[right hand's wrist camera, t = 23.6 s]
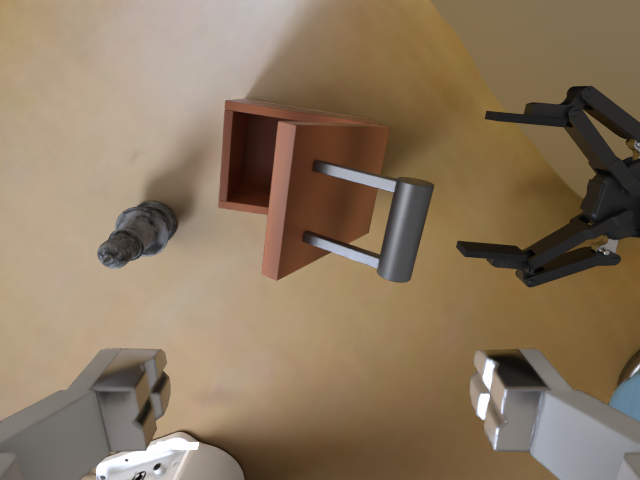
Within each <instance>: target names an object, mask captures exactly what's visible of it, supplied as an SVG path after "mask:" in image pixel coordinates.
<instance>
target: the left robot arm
mask: <svg viewBox="0 0 640 480" xmlns="http://www.w3.org/2000/svg"><path fill="white" fill-rule="evenodd" d="M582 109H583V110H584V111H586V112H587V113H588V114H590V115H591V116H592V117H594V118H595V119H596V120H598V121H599V122H600V123H602V124H603V125H604V126H606V127H607V128H608V129H610V130H611V131H612V132H614V133H615V134H616V135H618V136H619V137H621V138H624V139H627V141H626V145H628V147H629V148H630V149H631V150H632V151H633V156H632V157H629V158H626V159H624V160H623V161H622V160H621V159H619V158H618V157H616V156H615V154H614V153H613V152H612V150H611V149H610V147H609V146H608V145H607V143H606V142H605V140H604V139H603V138H602V136H601V135H600V134H599V132H598V131H597V129H596V128H595V127H594V125H593V124H592V123H591V121H590V120H589V118H588V117H587V116H586V114H585V113H584V111H583V110H582ZM485 119H488V120H494V121H503V122H514V123H524V124H535V125H546V126H557V127H564V128H565V130H566V131H567V132H568V134H569V135H570V136H571V138H572V139H573V140H574V142H575V143H576V144H577V146H578V147H579V148H580V150H581V151H582V152H583V154H584V155H585V156H586V158H587V159H588V160H589V165H590V166H591V168H592V169H593V170H594V172H595V173H596V174H597V175H596V176H594V178H593V179H592V180H591V179H590V180H589V183H588V186H587V194H586V196H585V198H584V199H583V201H582V204H581V207H580V208H581V209H582V211H583V213H581V214H579V215H577V216H576V217H574V218H572V219H571V220H570V223H569V224H567V225H565V226H564V227H562V228H560V229H559V230H557V231H555V232H553V233H552V234H550V235H548V236H547V237H545V238H543V239H541V240H540V241H538V242H536V243H535V244H533V245H531V246H529V247H528V248H526V249H524V250H523V251H522V250H521V249H519V248H518V247H517V246H512V245H500V244H488V243H477V242H465V241H458V242H457V246H456V248H457V249H458V250H459V251H460V252H461V253H462V254H463V256H464V257H474V258H486V259H487V261H488V262H489V263H490V264H491V265H492V266H494V267H499V268H511V269H517V271H516V276H517V277H518V278H519V279H520V280H521V281H522V282H523V283H524V284H525V285H526V286H528V287H534V286H537V285H540V284H543V283H546V282H549V281H553V280H556V279H559V278H562V277H565V276H568V275H571V274H574V273H577V272H580V271H583V270H586V269H589V268H592V267H595V266H606V265H617V264H618V263H619V262H620V260H621V257H620V256H619V255H617V254H615V252H616V248H617V244H618V240H620V239H623V238H626V237H638V238H640V122H638V121H637V120H636V119H634V118H633V117H632V116H630V115H629V114H628V113H627V112H625V111H624V110H623V109H621V108H620V107H619V106H617V105H616V104H615V103H613V102H612V101H611V100H610V99H608V98H607V97H606V96H604V95H603V94H602V93H601V92H599V91H598V90H597V89H595V88H594V87H592V86H575V87H571V88H570V89H569V90H568V92H567V97H566V99H565V100H564V102H562V103H561V104H558V105H557V104H547V103H533V102H532V103H529V104H526V107H525V111H524V114H513V113H502V112H492V111H486V116H485ZM588 223H591V224H592V225H589V224H588ZM601 235H603V236H604V237H603V239H602V240H601V241H600V242H596V243H591V244H590V247H583V248H579V249H576V250H573V251H570V252H567V251H568V250H570V249H572V248H574V247H575V246H577V245H579V244H581V243H582V242H584V241H586V240H589V239H595V238H597V237H599V236H601ZM565 252H567V253H565ZM563 253H564V254H563ZM609 406H611V407H613V408H615V409H617V410H619V411H621V412H623V413H624V414H626V415H628V416H630V417H632V418H634V419H636V420H638V421H640V351H639V352H638V353H636V354H635V355H634V356H633V357H632V358H631V359H630V361H629V362H628V363H627V365H626V366H625V367H624V369H623V371H622V373H621V375H620V378H619V381H618V387H617V389H616V390H615V392H614V393H613V395H612V397H611V399H610V402H609Z"/></svg>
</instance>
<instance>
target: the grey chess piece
mask: <svg viewBox="0 0 640 480" xmlns="http://www.w3.org/2000/svg"><path fill="white" fill-rule="evenodd" d="M175 231H176V220H175V217H174V215H173V213H172V212H171V210H170V209H168V208H167V207H166V206H165V205H163V204H161V203H158V202H152V201H148V202H144V203H142V204H140V205H138V206H137V207H133V208H129V209H127V210H125V211H123V212H122V213H121V214H120V215H119V217H118V219H117V221H116V226H115V231H113V232H112V233H111V234H110V236H109V240H107V241H106V242H104V243H103V244H102V245H101V246H100V247H99V249H98V253H97V254H98V258H99V260H100V262H101V263H102V264H103V265H104V266H106V267H108V268H112V269H117V268H121V267H123V266H125V265H126V264H127V263H128V262H129V261H132V260H136V259H138V258H139V257H140V256H144V257H149V256H153V255H156V254H158V253H160V252H161V251H162V250H163V249H164V248H165V246H166V244H167V242H168V240H169V239H170V238H171V237H172V236H173V235H174V233H175Z"/></svg>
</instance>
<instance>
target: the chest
mask: <svg viewBox="0 0 640 480" xmlns="http://www.w3.org/2000/svg"><path fill="white" fill-rule="evenodd" d="M278 121H291V122H320V123H349V124H377V125H381V124H379V123H377V122H375V121H373V120H372V119H370V118H365V117H359V116H352V115H346V114H340V113H333V112H327V111H321V110H314V109H308V108H302V107H295V106H289V105H283V104H276V103H270V102H264V101H257V100H251V99H237V100H226V101H225V113H224V129H223V144H222V160H221V175H220V191H219V208H223V209H230V210H237V211H244V212H251V213H258V214H265V215H268V210H269V201H270V192H271V183H272V174H273V165H274V155H275V146H276V137H277V128H278Z"/></svg>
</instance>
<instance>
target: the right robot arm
mask: <svg viewBox="0 0 640 480" xmlns="http://www.w3.org/2000/svg"><path fill="white" fill-rule="evenodd" d="M166 364H167V360H166V355H165V352H164V351H163V350H162V349H122V348H106V349H103V350H100V351H99V353H98V354H97V355H96V356H95V357H94V358H93V360H92V361H91V362H90V363H89V364H88V365H87V367H86V368H85V369H84V370H83V371H82V372H81V374H80V375H79V376H78V377H77V378H76V379H75V381H74V382H73V383H72V384H71V385H70V386H69V388H68V389H67V390H60V391H58V392H56V393H54V394H52V395H50V396H48V397H46V398H44V399H42V400H40V401H38V402H36V403H35V404H33V405H31V406H29V407H27V408H25V409H23V410H21V411H19V412H17V413H15V414H13V415H12V416H10V417H8V418H6V419H4V420H2V421H0V480H81V479H82V478H83V477H84V476H85V475H86V474H88V473H89V472H90V471H91V470H92V469H93V468H95V467H96V466H97V465H98V466H97V470H96V478H97V480H244V475H243V471H242V469H241V467H240V465H239V464H238V463H237V461H236V460H235V459H234V458H233V457H232V456H230V455H229V454H228V453H226V452H225V451H223V450H221V449H219V448H216V447H214V446H211V445H208V444H204V443H201V442H199V441H197V440H196V439H194V438H193V437H191V436H190V435H188V434H186V433H184V432H176V433H174V434H171V435H168V436H165V437H162V438H159V439H157V440H154V441H151V440H152V438H153V436H154V434H155V432H156V430H157V426H156V420H157V419H159V418H160V417H161V416H163V415H164V413H165V411H166V409H167V407H168V403H169V398H170V378H169V376H168V375H167V374H166V373H165V372H164V371H163V369H164V368H165V366H166ZM473 364H474V366H475V368H476V369H477V371H476V372H475V373H474V374H473V375H472V376H471V378H470V387H469V390H470V399H471V403H472V406H473V409H474V411H475V413H476V415H477V416H479V417H480V418H481V419H483V420H484V426H483V430H484V432H485V434H486V436H487V438H488V440H489V442H490V444H491V446H492V448H493V450H494V451H507V452H530V454H531V455H532V456H533V457H534V458H535V459H536V460H537V461H539V462H540V463H541V464H542V465H543V466H544V467H546V468H547V469H548V470H549V471H550V472H551V473H553V474H554V475H555V476H556V477H557V478H558V479H559V480H640V421H638V420H636V419H634V418H632V417H630V416H628V415H626V414H624V413H623V412H621V411H619V410H617V409H615V408H613V407H611V406H609V405H607V404H605V403H603V402H602V401H600V400H598V399H596V398H594V397H592V396H590V395H588V394H586V393H584V392H582V391H580V390H573V389H572V388H571V386H570V385H569V384H568V383H567V382H566V381H565V379H564V378H563V377H562V376H561V375H560V374H559V372H558V371H557V370H556V369H555V368H554V367H553V365H552V364H551V363H550V362H549V361H548V360H547V358H546V357H545V356H544V355H543V354H542V353H541V351H539V350H538V349H536V348H525V349H499V350H476V352H475V354H474V360H473ZM110 452H120V453H117V454H114V455H111V456H109V455H110ZM107 456H109V457H107Z"/></svg>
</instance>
